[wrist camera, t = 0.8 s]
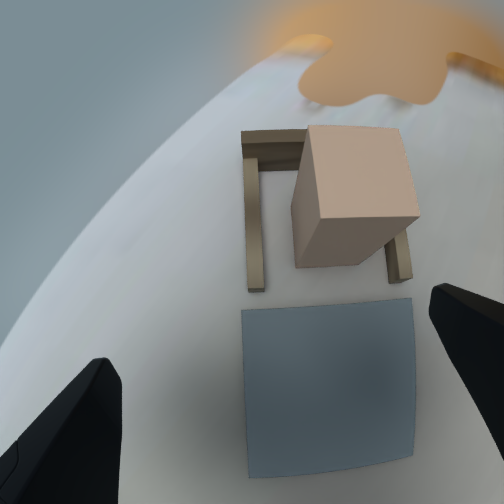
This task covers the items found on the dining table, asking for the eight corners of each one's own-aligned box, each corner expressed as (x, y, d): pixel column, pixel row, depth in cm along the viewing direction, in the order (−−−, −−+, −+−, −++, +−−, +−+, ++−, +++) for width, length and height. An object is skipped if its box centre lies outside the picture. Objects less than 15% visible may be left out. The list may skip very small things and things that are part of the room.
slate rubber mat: (410, 453, 19) (412, 455, 18) (249, 475, 19) (248, 478, 18) (408, 298, 22) (411, 297, 21) (241, 310, 22) (241, 310, 21)
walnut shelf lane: (401, 282, 22) (426, 272, 18) (248, 292, 22) (246, 283, 18) (380, 159, 24) (396, 132, 20) (243, 160, 24) (240, 131, 21)
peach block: (358, 264, 22) (420, 216, 13) (295, 268, 22) (320, 218, 13) (350, 205, 23) (398, 128, 14) (290, 207, 23) (308, 125, 14)
